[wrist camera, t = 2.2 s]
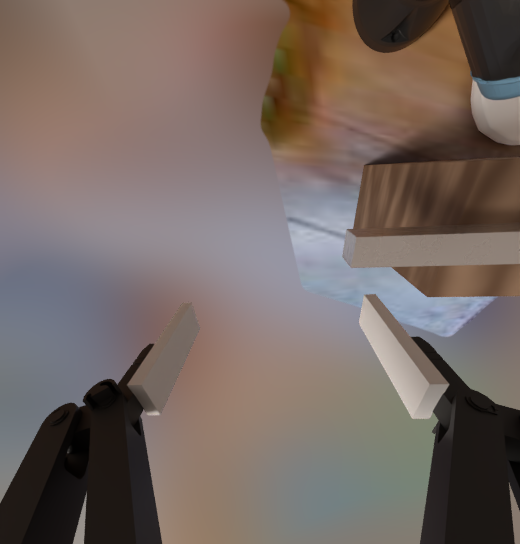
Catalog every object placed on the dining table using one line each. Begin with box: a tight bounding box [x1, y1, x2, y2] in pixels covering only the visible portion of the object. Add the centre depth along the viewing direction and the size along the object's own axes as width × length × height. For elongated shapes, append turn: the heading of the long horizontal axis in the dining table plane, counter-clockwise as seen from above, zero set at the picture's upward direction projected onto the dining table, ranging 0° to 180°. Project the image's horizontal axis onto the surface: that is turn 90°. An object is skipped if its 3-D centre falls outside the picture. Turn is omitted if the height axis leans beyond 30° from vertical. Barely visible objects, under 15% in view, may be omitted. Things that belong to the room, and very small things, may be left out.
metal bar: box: [342, 223, 520, 268], centre depth 21 cm, size 32×4×3 cm, turn 93°
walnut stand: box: [353, 156, 520, 297], centre depth 34 cm, size 16×16×28 cm
